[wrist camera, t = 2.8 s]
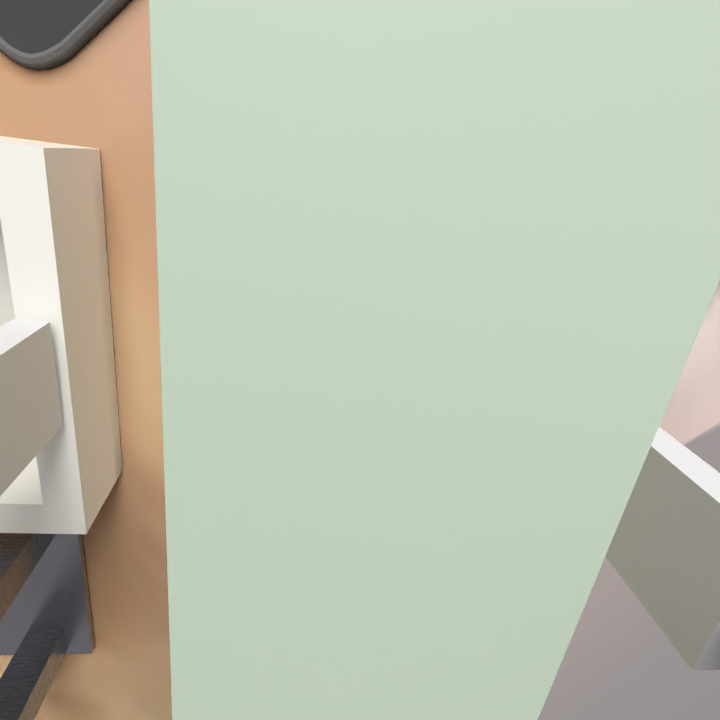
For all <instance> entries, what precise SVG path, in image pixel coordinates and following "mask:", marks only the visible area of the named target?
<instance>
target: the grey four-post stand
mask: <svg viewBox="0 0 720 720" xmlns="http://www.w3.org/2000/svg"><path fill="white" fill-rule="evenodd" d="M94 648H95V642H94V633H93V624H92V616H91V607H90V598H89V590H88V581H87V572H86V564H85V555H84V546H83V538H82V534H37V533H0V655H14V656H13V658H12V660H11V661H10V663H9V665H8V667H7V668H6V670H5V672H4V674H3V675H2V677H1V679H0V720H34V719H35V717H36V715H37V713H38V711H39V708H40V706H41V704H42V702H43V700H44V698H45V696H46V694H47V691H48V689H49V687H50V685H51V683H52V681H53V679H54V677H55V674H56V672H57V670H58V668H59V666H60V664H61V662H62V660H63V657H64V655H65V654H87V653H92V652H93V650H94Z"/></svg>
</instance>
